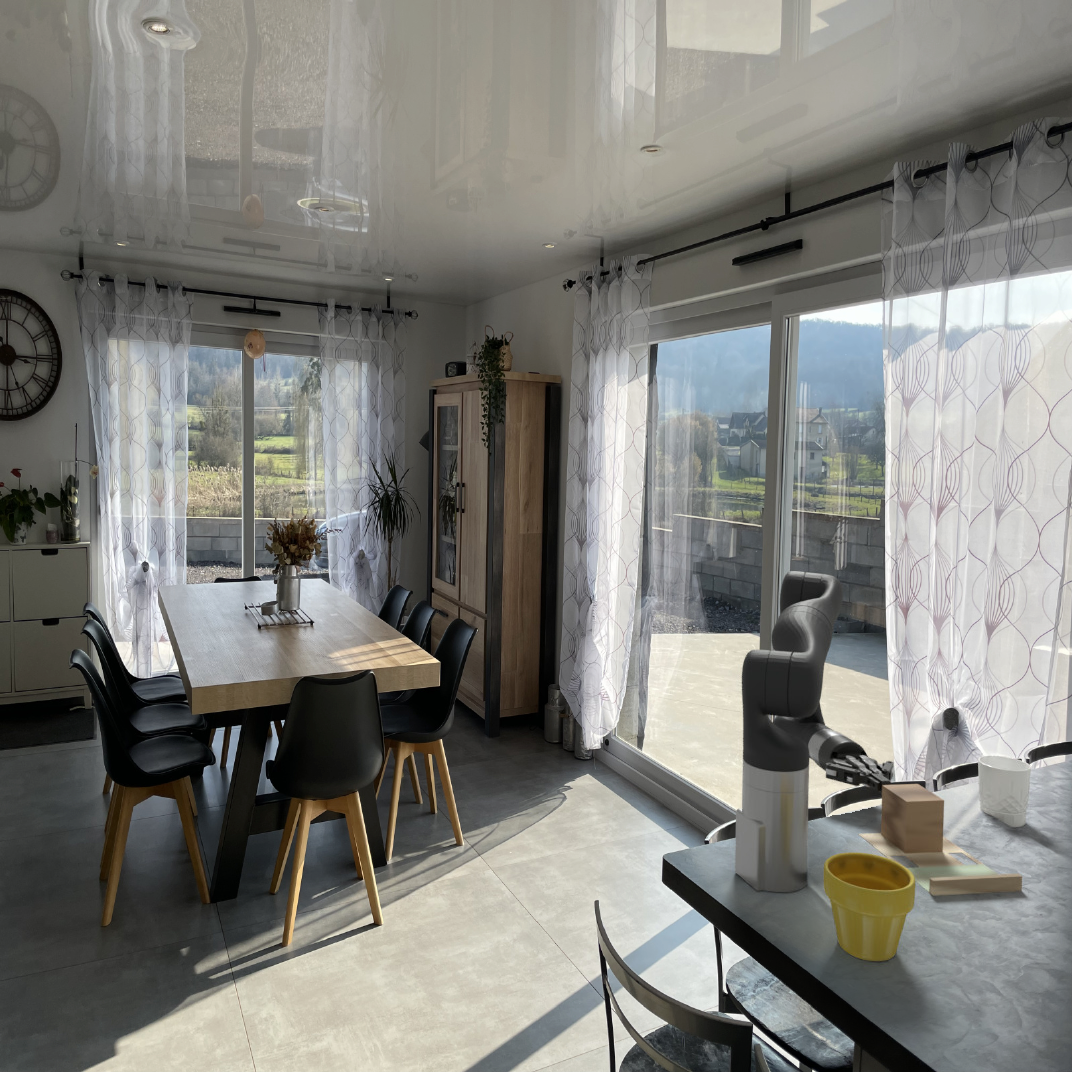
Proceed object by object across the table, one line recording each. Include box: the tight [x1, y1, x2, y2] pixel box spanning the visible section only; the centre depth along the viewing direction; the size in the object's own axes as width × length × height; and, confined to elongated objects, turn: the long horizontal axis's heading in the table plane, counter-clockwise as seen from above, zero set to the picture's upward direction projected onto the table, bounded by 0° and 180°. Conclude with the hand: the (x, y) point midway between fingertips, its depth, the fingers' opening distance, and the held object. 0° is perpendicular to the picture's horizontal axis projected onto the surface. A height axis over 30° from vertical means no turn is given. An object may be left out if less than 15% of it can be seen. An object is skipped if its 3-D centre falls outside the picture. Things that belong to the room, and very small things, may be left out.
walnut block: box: [880, 783, 945, 854], centre depth 126 cm, size 7×6×8 cm
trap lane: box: [858, 832, 1023, 897], centre depth 120 cm, size 20×13×4 cm, turn 6°
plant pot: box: [823, 851, 916, 962], centre depth 100 cm, size 10×10×10 cm
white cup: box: [977, 755, 1032, 828], centre depth 139 cm, size 8×8×10 cm
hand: (886, 787), depth 133 cm, fingers closed
